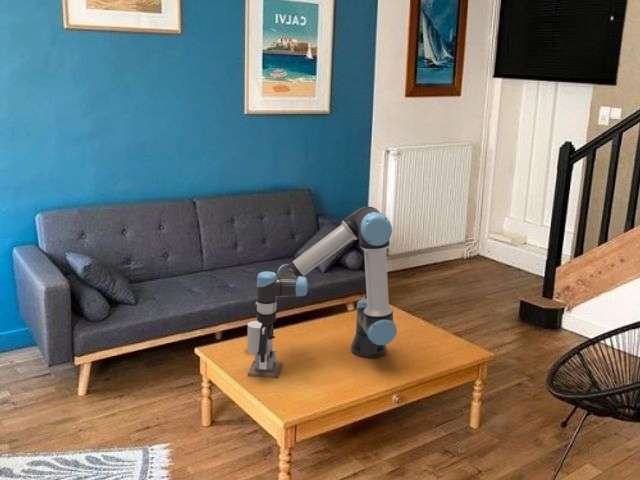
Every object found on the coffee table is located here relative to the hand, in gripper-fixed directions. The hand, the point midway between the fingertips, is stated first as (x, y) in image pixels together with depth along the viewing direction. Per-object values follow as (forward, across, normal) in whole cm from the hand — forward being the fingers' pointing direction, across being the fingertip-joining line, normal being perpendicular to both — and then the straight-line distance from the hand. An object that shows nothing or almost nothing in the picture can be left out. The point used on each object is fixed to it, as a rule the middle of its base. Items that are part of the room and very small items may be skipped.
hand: (266, 361), depth 269 cm
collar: (+3, 0, 0) cm, 3 cm away
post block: (+4, 0, 0) cm, 4 cm away
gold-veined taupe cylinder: (+4, -18, -7) cm, 20 cm away
